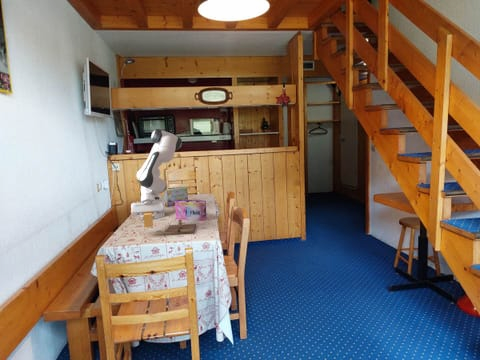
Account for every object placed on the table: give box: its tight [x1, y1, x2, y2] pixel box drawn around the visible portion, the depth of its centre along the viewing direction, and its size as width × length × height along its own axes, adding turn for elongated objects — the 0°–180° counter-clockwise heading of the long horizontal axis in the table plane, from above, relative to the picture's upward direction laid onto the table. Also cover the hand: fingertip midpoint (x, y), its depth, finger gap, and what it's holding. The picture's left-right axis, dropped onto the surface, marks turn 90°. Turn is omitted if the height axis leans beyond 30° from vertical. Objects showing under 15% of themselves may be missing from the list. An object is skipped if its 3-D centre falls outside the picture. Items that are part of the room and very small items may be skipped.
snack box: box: [163, 186, 189, 208], centre depth 292 cm, size 21×6×15 cm, turn 131°
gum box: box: [174, 199, 208, 222], centre depth 237 cm, size 24×8×14 cm, turn 65°
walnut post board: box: [163, 219, 197, 236], centre depth 208 cm, size 18×18×7 cm
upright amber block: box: [143, 212, 154, 229], centre depth 199 cm, size 5×5×8 cm
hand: (148, 219), depth 199 cm, fingers closed on upright amber block, 5 cm apart
